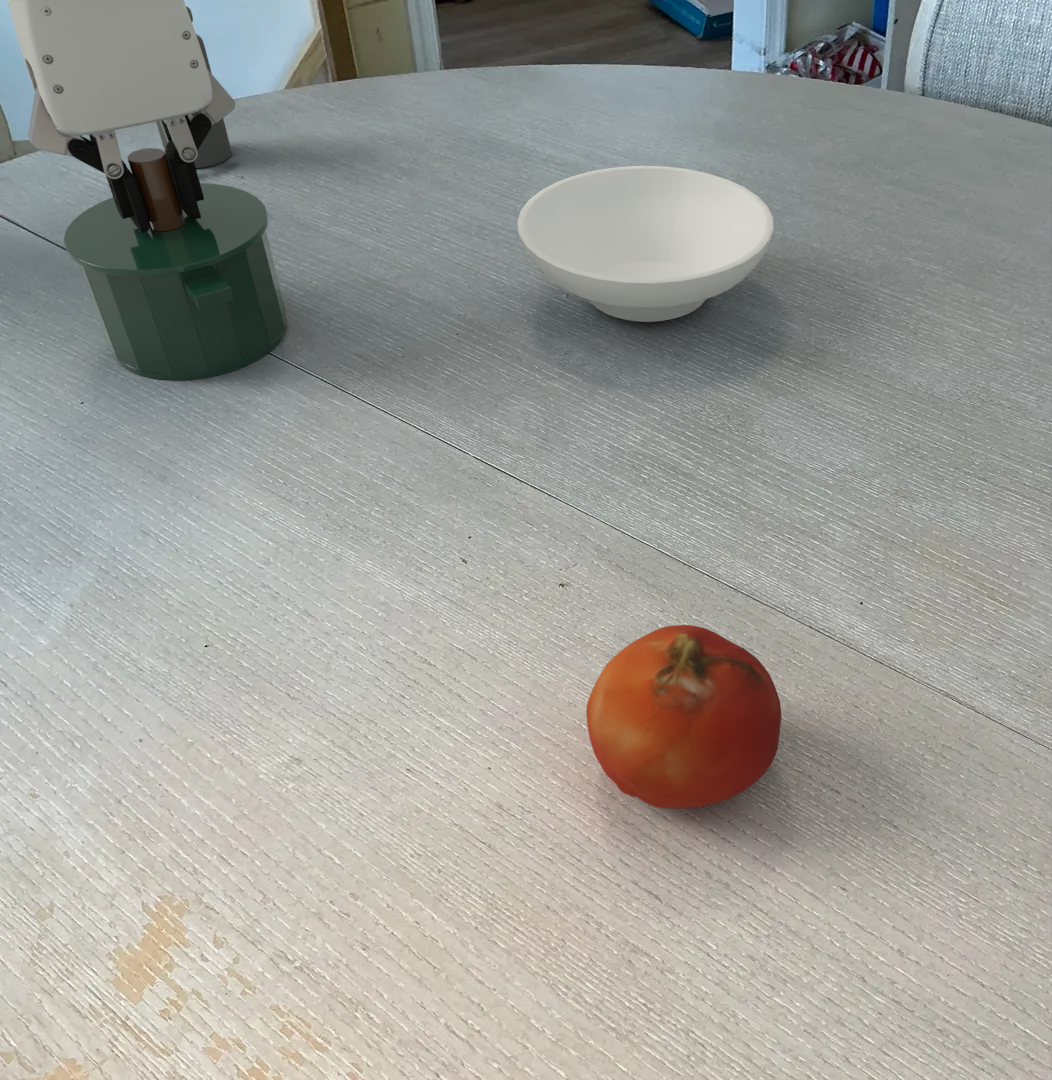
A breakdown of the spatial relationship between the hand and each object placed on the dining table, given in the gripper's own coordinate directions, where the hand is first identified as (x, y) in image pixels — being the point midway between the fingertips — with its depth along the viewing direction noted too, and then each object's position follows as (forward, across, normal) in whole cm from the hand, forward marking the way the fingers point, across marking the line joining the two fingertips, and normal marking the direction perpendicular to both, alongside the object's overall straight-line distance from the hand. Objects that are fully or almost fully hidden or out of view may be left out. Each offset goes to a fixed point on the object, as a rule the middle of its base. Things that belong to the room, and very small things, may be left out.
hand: (164, 215), depth 82 cm
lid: (+1, 0, 0) cm, 1 cm away
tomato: (+10, -7, +54) cm, 55 cm away
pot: (+10, 0, 0) cm, 10 cm away
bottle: (+10, -10, -32) cm, 35 cm away
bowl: (+10, -31, +14) cm, 35 cm away
